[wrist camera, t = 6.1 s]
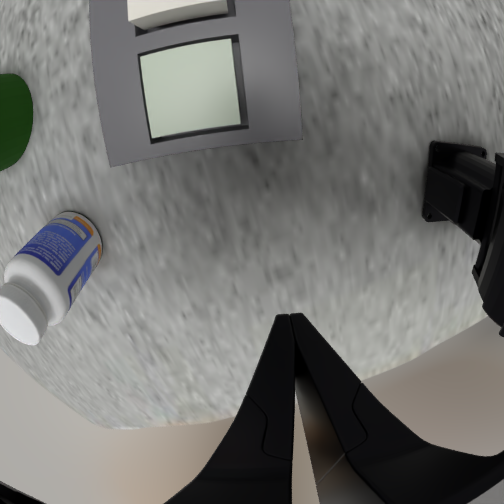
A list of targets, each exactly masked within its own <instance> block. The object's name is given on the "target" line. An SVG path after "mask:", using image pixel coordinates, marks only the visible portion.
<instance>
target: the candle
mask: <svg viewBox="0 0 504 504" xmlns="http://www.w3.org/2000/svg"><path fill="white" fill-rule="evenodd" d="M32 124H33V102H32V98H31V93H30V91H29V88H28V86H27V84H26V83H25V81H24V80H23V79H22V78H21V77H20V76H18V75H16V74H0V171H2V170H4V169H6V168H8V167H10V166H12V165H13V164H15V163H16V162H17V161H18V160H19V159H20V158H21V156H22V155H23V153H24V151H25V149H26V147H27V145H28V142H29V139H30V135H31V131H32Z"/></svg>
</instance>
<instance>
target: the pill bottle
mask: <svg viewBox="0 0 504 504" xmlns="http://www.w3.org/2000/svg"><path fill="white" fill-rule="evenodd" d="M101 255H102V243H101V239H100V236H99V234H98V232H97V230H96V228H95V227H94V225H93V224H92V223H91V222H90V221H89V220H88V219H87V218H85V217H84V216H82V215H80V214H78V213H74V212H63V213H60V214H59V215H57V216H56V217H54V218H53V219H52V220H51V221H50V222H49V223H48V224H47V225H45V226H44V227H43V228H42V229H41V230H40V231H39V232H38V233H37V234H36V235H35V236H34V237H33V238H32V239H31V240H30V241H29V242H28V243H27V244H26V245H25V246H24V247H23V248H22V249H21V250H20V251H19V252H18V253H17V254H16V255H15V256H14V257H13V258H12V259H11V261H10V262H9V263H8V265H7V267H6V269H5V275H4V280H5V284H4V285H3V286H2V287H1V288H0V324H1V325H2V327H3V328H4V329H5V330H6V331H7V332H8V333H9V334H10V335H11V336H13V337H14V338H15V339H17V340H18V341H20V342H22V343H24V344H27V345H36V344H38V343H39V341H40V340H41V338H42V336H43V335H44V333H45V332H46V330H47V326H48V325H55V324H58V323H59V322H61V321H62V320H63V319H64V317H65V316H66V314H67V313H68V311H69V309H70V308H71V306H72V304H73V302H74V301H75V299H76V297H77V296H78V294H79V292H80V291H81V289H82V288H83V286H84V284H85V283H86V281H87V280H88V278H89V277H90V275H91V274H92V272H93V271H94V269H95V268H96V266H97V264H98V263H99V260H100V258H101Z"/></svg>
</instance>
